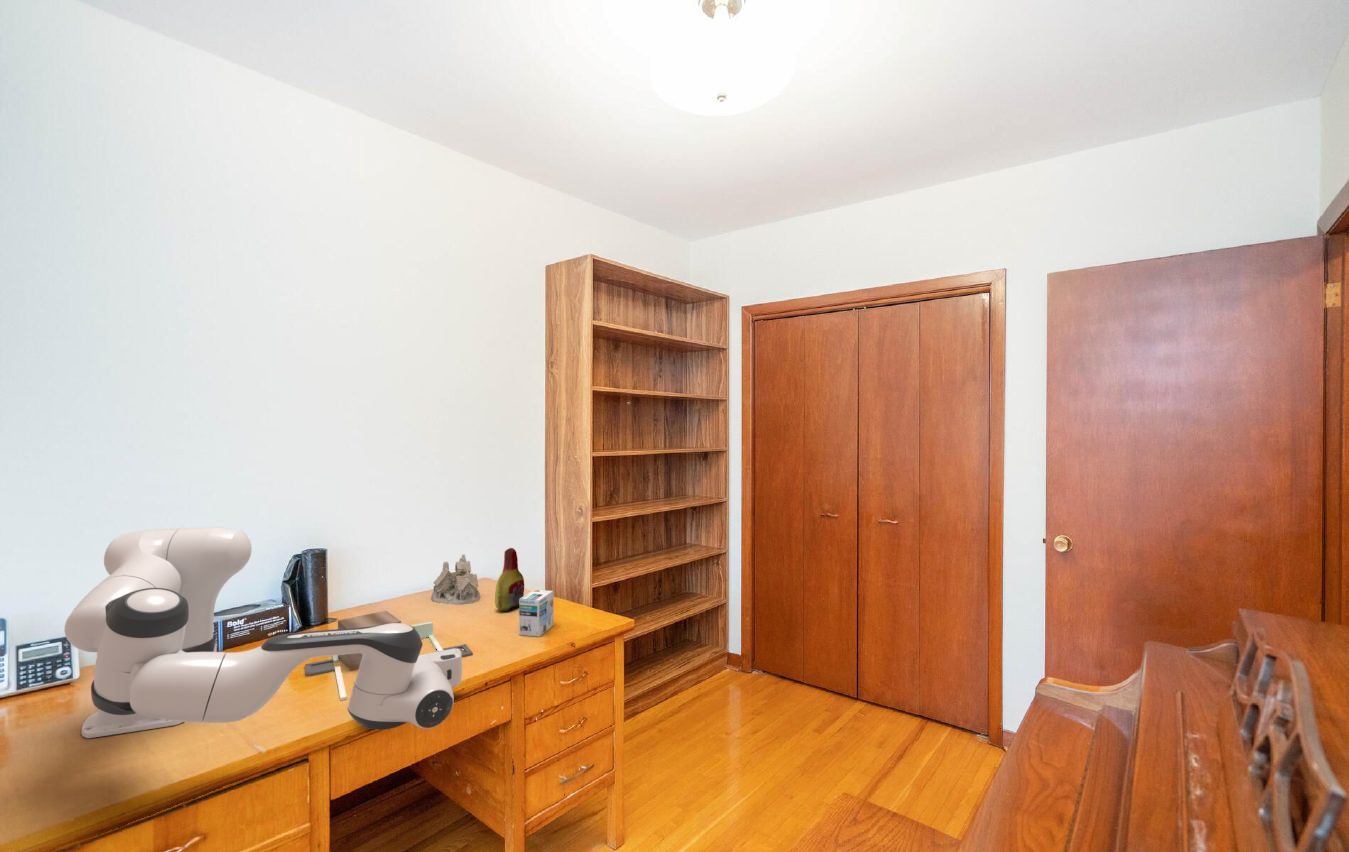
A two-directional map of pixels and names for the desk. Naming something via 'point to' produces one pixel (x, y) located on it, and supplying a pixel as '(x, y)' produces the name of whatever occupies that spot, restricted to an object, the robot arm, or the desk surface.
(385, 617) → the walnut block
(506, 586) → the bottle
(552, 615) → the light bulb box
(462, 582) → the ceramic cottage
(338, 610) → the desk surface
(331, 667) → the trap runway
